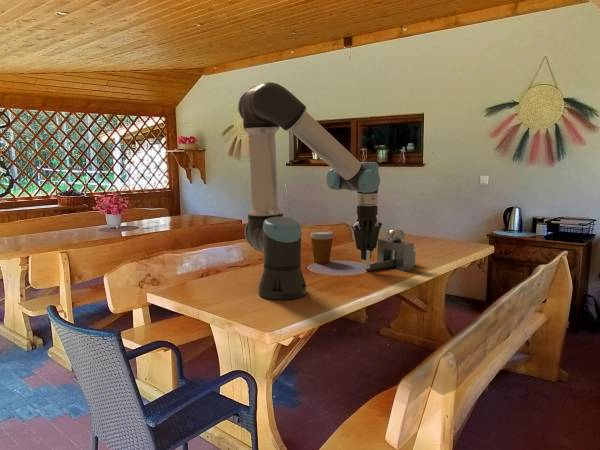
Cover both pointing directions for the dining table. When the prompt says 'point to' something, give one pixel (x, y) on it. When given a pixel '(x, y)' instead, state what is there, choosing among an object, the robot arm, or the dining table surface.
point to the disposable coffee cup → (321, 245)
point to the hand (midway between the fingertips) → (366, 267)
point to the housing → (398, 245)
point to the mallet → (387, 263)
